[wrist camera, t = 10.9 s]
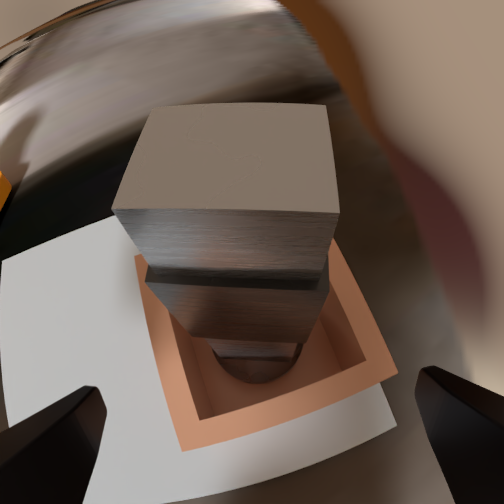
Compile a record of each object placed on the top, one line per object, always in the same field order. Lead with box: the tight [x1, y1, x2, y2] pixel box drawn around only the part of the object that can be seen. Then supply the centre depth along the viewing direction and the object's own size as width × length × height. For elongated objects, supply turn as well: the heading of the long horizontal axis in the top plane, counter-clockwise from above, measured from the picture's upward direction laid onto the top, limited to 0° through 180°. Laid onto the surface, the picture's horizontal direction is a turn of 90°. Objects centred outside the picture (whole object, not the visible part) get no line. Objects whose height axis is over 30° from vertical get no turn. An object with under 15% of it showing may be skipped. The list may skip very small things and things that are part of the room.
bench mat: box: [0, 215, 397, 504], centre depth 17 cm, size 18×22×1 cm
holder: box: [134, 238, 398, 452], centre depth 14 cm, size 8×8×4 cm
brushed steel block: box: [112, 103, 340, 384], centre depth 10 cm, size 4×4×12 cm
